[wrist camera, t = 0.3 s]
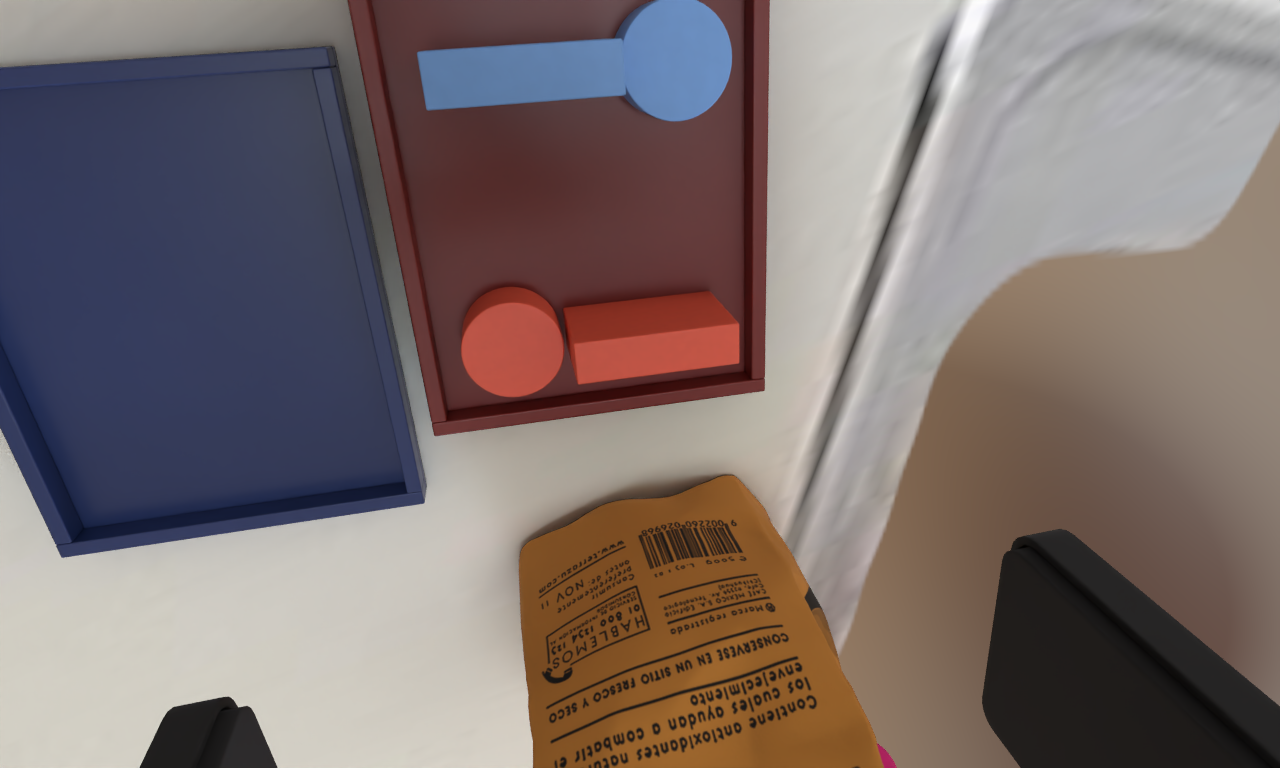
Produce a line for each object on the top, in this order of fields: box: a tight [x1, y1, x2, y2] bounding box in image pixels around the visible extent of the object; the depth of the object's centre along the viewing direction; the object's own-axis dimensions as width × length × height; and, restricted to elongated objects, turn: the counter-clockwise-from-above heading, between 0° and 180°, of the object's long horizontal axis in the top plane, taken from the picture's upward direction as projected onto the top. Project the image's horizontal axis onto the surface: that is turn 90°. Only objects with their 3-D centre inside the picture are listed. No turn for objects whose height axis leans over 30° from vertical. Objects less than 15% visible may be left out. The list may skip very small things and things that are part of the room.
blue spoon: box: [417, 0, 732, 121], centre depth 24 cm, size 10×4×4 cm, turn 93°
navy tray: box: [0, 46, 427, 558], centre depth 27 cm, size 17×14×1 cm
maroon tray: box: [348, 0, 770, 436], centre depth 28 cm, size 17×14×1 cm
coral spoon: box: [461, 287, 739, 397], centre depth 28 cm, size 10×4×4 cm, turn 93°
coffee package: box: [519, 475, 884, 768], centre depth 26 cm, size 10×12×22 cm
